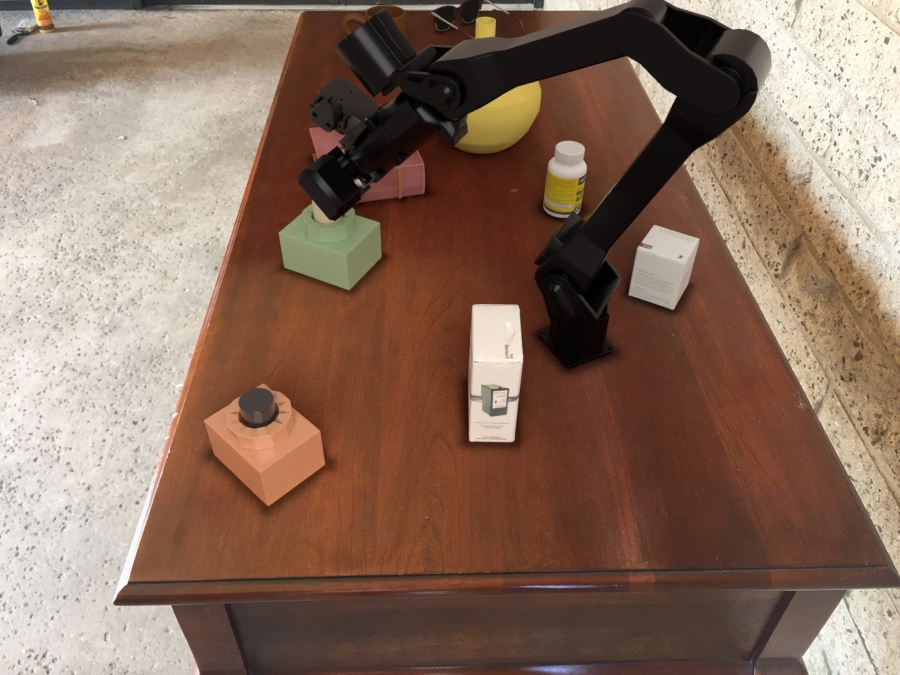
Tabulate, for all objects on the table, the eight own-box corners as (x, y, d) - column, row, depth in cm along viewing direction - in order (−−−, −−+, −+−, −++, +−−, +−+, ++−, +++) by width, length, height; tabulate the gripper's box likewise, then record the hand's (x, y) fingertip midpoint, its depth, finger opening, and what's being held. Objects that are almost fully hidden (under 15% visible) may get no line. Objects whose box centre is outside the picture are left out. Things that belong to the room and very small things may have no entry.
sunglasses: (481, 18, 165) (483, -6, 162) (533, 46, 157) (536, 22, 154) (430, 33, 159) (431, 9, 155) (481, 64, 151) (484, 39, 147)
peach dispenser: (325, 464, 77) (318, 417, 73) (268, 506, 74) (256, 460, 69) (270, 417, 82) (260, 370, 77) (213, 454, 78) (199, 407, 73)
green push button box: (382, 257, 103) (379, 208, 98) (349, 290, 98) (344, 241, 92) (318, 236, 106) (313, 188, 101) (283, 267, 101) (276, 219, 96)
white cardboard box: (688, 285, 99) (701, 237, 94) (673, 311, 95) (686, 263, 90) (643, 270, 102) (653, 222, 97) (626, 295, 98) (636, 247, 93)
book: (327, 210, 111) (324, 179, 107) (312, 157, 122) (309, 128, 118) (425, 196, 114) (425, 166, 110) (402, 146, 125) (401, 117, 121)
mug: (342, 70, 145) (338, 19, 139) (345, 54, 151) (341, 4, 144) (407, 70, 146) (405, 19, 139) (407, 54, 151) (406, 4, 145)
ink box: (466, 382, 86) (470, 301, 78) (511, 383, 86) (519, 302, 78) (467, 443, 80) (471, 360, 72) (515, 443, 80) (525, 361, 72)
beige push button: (348, 213, 98) (347, 197, 96) (332, 228, 95) (330, 211, 94) (324, 206, 99) (322, 190, 97) (308, 220, 96) (306, 203, 95)
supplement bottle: (579, 221, 110) (588, 159, 103) (540, 216, 110) (547, 155, 104) (582, 201, 114) (591, 140, 107) (545, 196, 114) (551, 135, 108)
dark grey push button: (283, 415, 73) (280, 399, 72) (255, 433, 72) (251, 418, 70) (263, 397, 75) (259, 382, 74) (235, 415, 73) (231, 400, 72)
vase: (411, 159, 122) (408, 37, 109) (439, 107, 135) (440, -7, 122) (526, 175, 119) (538, 51, 106) (544, 120, 132) (556, 4, 119)
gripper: (398, 33, 87) (325, 104, 98) (302, 99, 75) (231, 171, 86) (459, 114, 90) (381, 174, 101) (376, 190, 78) (298, 249, 89)
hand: (326, 189), depth 94 cm, fingers closed
